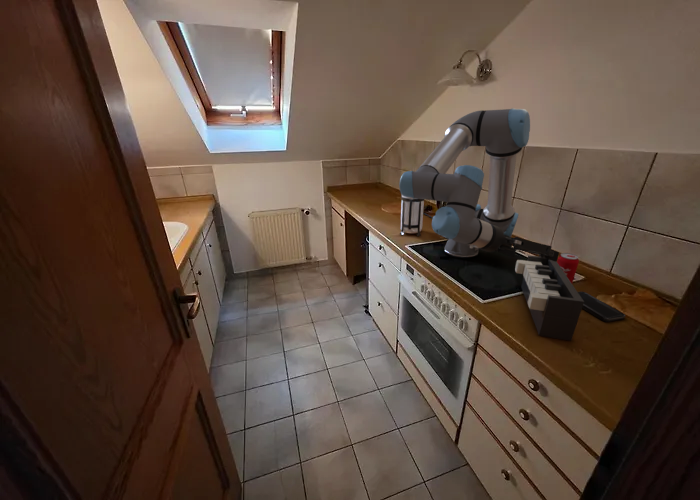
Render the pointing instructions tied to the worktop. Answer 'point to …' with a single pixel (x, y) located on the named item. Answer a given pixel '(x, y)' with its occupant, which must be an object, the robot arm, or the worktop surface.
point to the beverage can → (568, 264)
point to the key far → (521, 264)
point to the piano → (552, 298)
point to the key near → (537, 301)
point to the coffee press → (411, 215)
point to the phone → (600, 308)
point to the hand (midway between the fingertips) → (534, 254)
